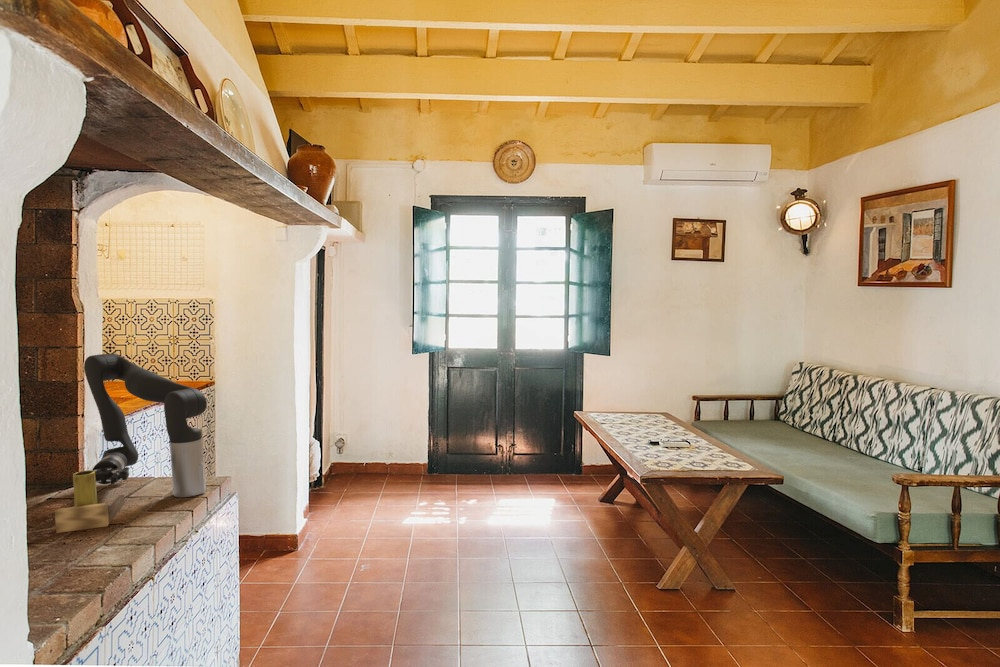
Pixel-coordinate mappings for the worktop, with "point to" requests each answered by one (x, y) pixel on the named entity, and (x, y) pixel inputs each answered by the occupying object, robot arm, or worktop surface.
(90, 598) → the worktop surface
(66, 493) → the worktop surface
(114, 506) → the track
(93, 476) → the vase
